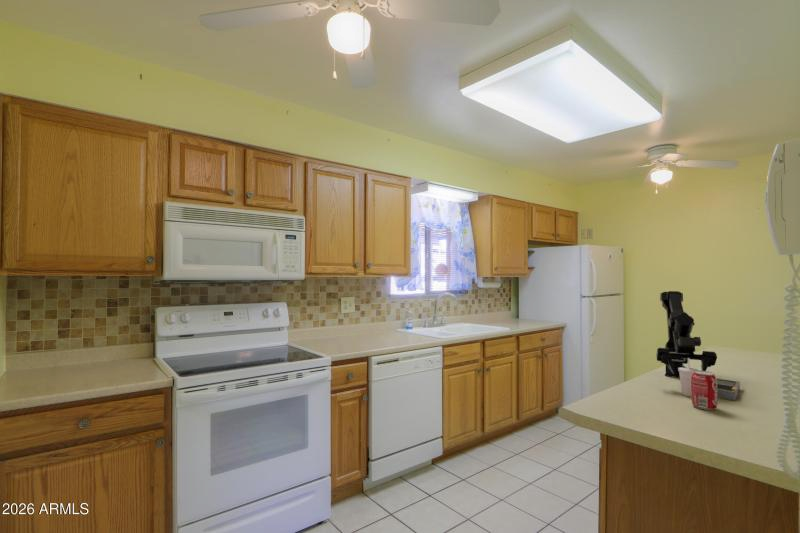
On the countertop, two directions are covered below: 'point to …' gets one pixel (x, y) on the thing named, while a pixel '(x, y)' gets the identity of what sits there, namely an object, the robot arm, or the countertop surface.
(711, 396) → the soda can
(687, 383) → the white cup
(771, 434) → the countertop surface
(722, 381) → the frame
